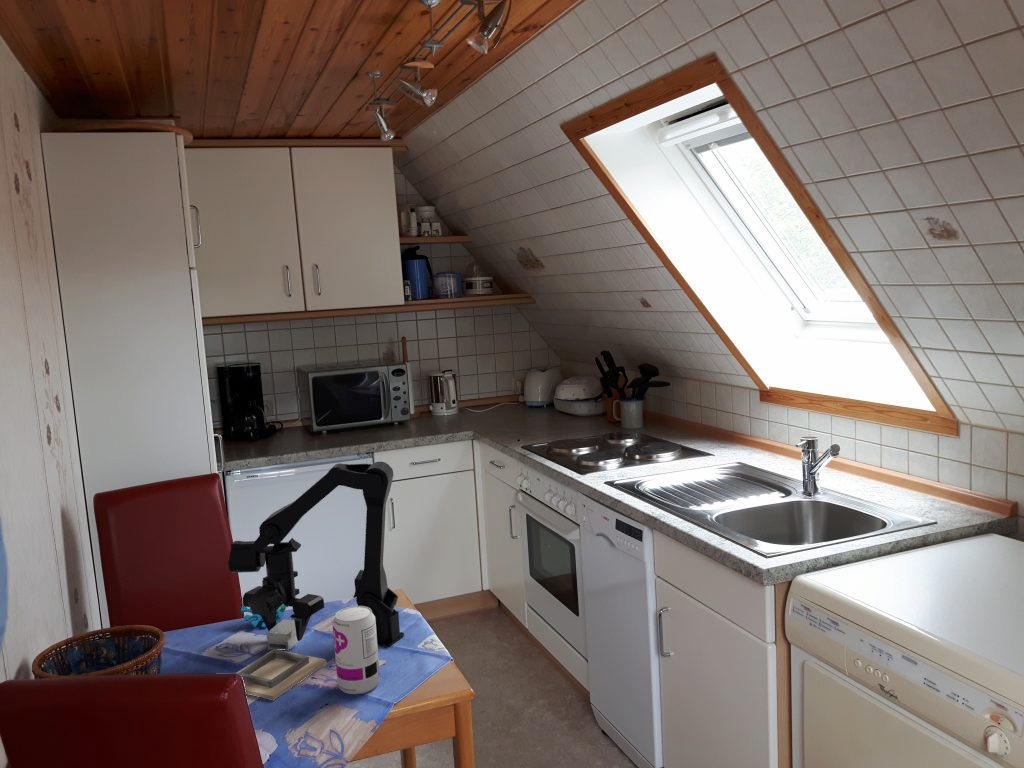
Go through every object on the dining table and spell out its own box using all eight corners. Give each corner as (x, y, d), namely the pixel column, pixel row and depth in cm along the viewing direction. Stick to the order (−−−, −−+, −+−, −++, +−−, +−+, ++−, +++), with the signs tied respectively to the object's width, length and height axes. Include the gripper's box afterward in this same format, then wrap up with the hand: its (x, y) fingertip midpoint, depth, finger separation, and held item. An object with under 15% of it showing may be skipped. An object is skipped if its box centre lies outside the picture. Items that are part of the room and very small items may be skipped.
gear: (242, 627, 189) (240, 587, 195) (239, 638, 194) (237, 598, 199) (291, 623, 194) (288, 584, 200) (287, 634, 198) (284, 595, 204)
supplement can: (345, 700, 158) (338, 625, 156) (333, 682, 165) (327, 610, 163) (385, 688, 162) (380, 615, 160) (372, 671, 169) (367, 601, 167)
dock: (326, 663, 173) (325, 654, 173) (273, 701, 159) (272, 690, 159) (274, 653, 179) (273, 643, 179) (219, 688, 165) (218, 677, 165)
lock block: (305, 637, 187) (303, 620, 186) (288, 652, 180) (286, 634, 180) (285, 635, 188) (283, 619, 188) (267, 650, 181) (266, 633, 181)
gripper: (220, 578, 179) (227, 646, 181) (288, 589, 171) (294, 660, 173) (257, 560, 189) (263, 625, 191) (322, 570, 180) (328, 638, 183)
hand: (286, 637), depth 184 cm, fingers open, 7 cm apart
